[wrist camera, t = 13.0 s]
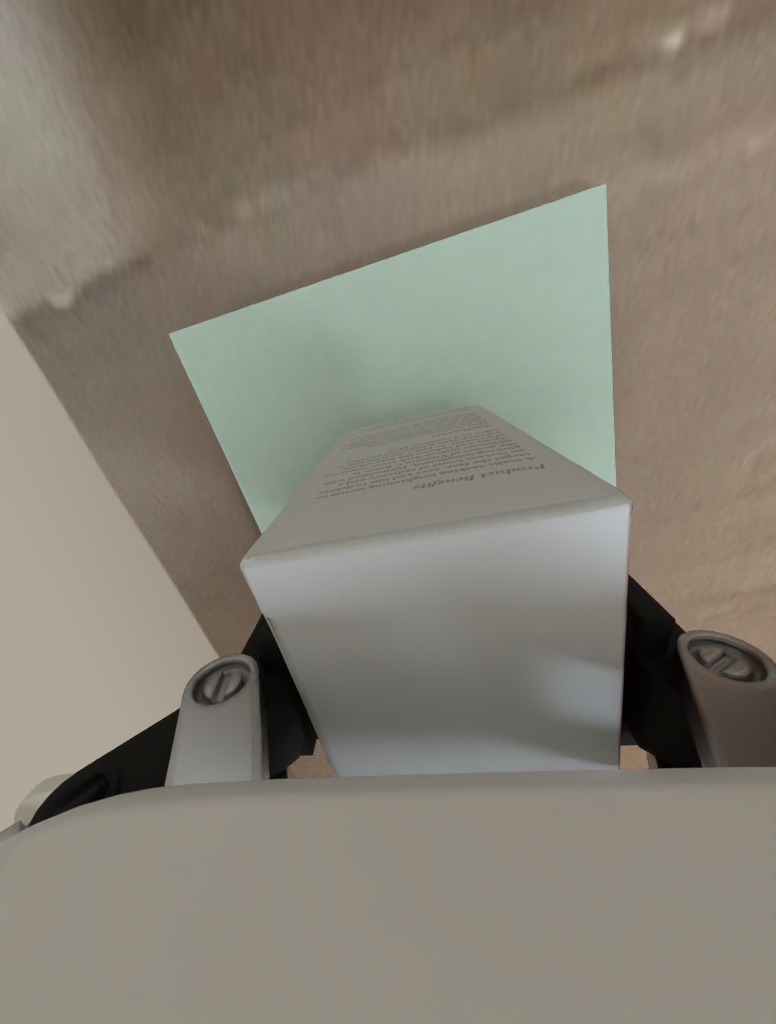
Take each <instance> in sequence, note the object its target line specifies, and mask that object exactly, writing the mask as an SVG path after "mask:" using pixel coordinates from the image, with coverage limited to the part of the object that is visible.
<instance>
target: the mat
mask: <svg viewBox="0 0 776 1024" xmlns="http://www.w3.org/2000/svg"><path fill="white" fill-rule="evenodd" d="M169 336H170V338H171V340H172V343H173V345H174V347H175V349H176V351H177V353H178V355H179V358H180V360H181V362H182V364H183V366H184V368H185V370H186V373H187V375H188V377H189V379H190V381H191V383H192V386H193V388H194V390H195V392H196V394H197V396H198V398H199V401H200V403H201V405H202V407H203V409H204V411H205V413H206V416H207V418H208V420H209V422H210V424H211V426H212V428H213V431H214V433H215V435H216V437H217V439H218V441H219V443H220V446H221V448H222V450H223V452H224V454H225V456H226V458H227V461H228V463H229V465H230V467H231V469H232V471H233V473H234V476H235V478H236V480H237V482H238V484H239V486H240V489H241V491H242V493H243V495H244V497H245V499H246V501H247V504H248V506H249V508H250V510H251V512H252V514H253V516H254V519H255V521H256V523H257V525H258V527H259V529H260V531H261V534H263V533H264V532H265V530H266V529H267V527H268V526H269V525H270V524H271V523H272V521H273V520H274V519H275V518H276V517H277V515H278V514H279V513H280V512H281V510H282V509H283V507H284V506H285V505H286V504H287V503H288V502H289V500H290V499H291V498H292V497H293V495H294V494H295V493H296V491H297V490H298V489H299V488H300V487H301V485H302V484H303V483H304V481H305V480H306V479H307V478H308V477H309V476H310V474H311V473H312V472H313V470H314V469H315V468H316V467H317V466H318V464H319V463H320V462H321V461H322V460H323V458H324V457H325V456H326V455H327V453H328V452H329V451H330V450H331V449H332V447H333V446H334V445H335V444H336V443H337V441H338V440H339V439H340V437H341V436H342V435H343V434H344V432H345V431H348V430H353V429H358V428H362V427H366V426H370V425H375V424H380V423H385V422H389V421H394V420H399V419H404V418H409V417H413V416H418V415H423V414H427V413H432V412H437V411H442V410H447V409H452V408H457V407H462V406H468V405H473V404H478V405H480V406H481V407H483V408H485V409H486V410H488V411H490V412H491V413H493V414H495V415H496V416H498V417H500V418H501V419H503V420H505V421H506V422H508V423H509V424H511V425H513V426H515V427H516V428H518V429H519V430H521V431H523V432H525V433H526V434H528V435H530V436H531V437H533V438H534V439H536V440H538V441H539V442H541V443H543V444H544V445H546V446H547V447H549V448H551V449H552V450H554V451H556V452H557V453H559V454H561V455H562V456H564V457H565V458H567V459H569V460H571V461H572V462H574V463H576V464H578V465H579V466H581V467H583V468H584V469H586V470H588V471H589V472H591V473H593V474H594V475H596V476H597V477H599V478H601V479H602V480H604V481H606V482H608V483H609V484H611V485H613V486H614V487H616V470H615V440H614V410H613V380H612V350H611V320H610V290H609V260H608V230H607V200H606V184H602V185H599V186H596V187H593V188H590V189H587V190H584V191H581V192H579V193H576V194H573V195H570V196H567V197H564V198H561V199H558V200H555V201H552V202H549V203H547V204H544V205H541V206H538V207H535V208H532V209H529V210H526V211H523V212H520V213H518V214H515V215H512V216H509V217H506V218H503V219H500V220H497V221H494V222H491V223H488V224H486V225H483V226H480V227H477V228H474V229H471V230H468V231H465V232H462V233H459V234H457V235H454V236H451V237H448V238H445V239H442V240H439V241H436V242H433V243H430V244H427V245H425V246H422V247H419V248H416V249H413V250H410V251H407V252H404V253H401V254H398V255H396V256H393V257H390V258H387V259H384V260H381V261H378V262H375V263H372V264H369V265H366V266H364V267H361V268H358V269H355V270H352V271H349V272H346V273H343V274H340V275H337V276H335V277H332V278H329V279H326V280H323V281H320V282H317V283H314V284H311V285H308V286H305V287H303V288H300V289H297V290H294V291H291V292H288V293H285V294H282V295H279V296H276V297H274V298H271V299H268V300H265V301H262V302H259V303H256V304H253V305H250V306H247V307H244V308H242V309H239V310H236V311H233V312H230V313H227V314H224V315H221V316H218V317H215V318H212V319H210V320H207V321H204V322H201V323H198V324H195V325H192V326H189V327H186V328H183V329H181V330H178V331H175V332H172V333H169Z"/></svg>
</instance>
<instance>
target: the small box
mask: <svg viewBox="0 0 776 1024" xmlns="http://www.w3.org/2000/svg"><path fill="white" fill-rule="evenodd" d="M632 509H633V501H632V500H631V499H630V498H629V497H628V496H627V495H626V494H625V493H623V492H622V491H620V490H619V489H618V488H616V487H614V486H613V485H611V484H609V483H608V482H606V481H604V480H602V479H601V478H599V477H597V476H596V475H594V474H593V473H591V472H589V471H588V470H586V469H584V468H583V467H581V466H579V465H578V464H576V463H574V462H572V461H571V460H569V459H567V458H565V457H564V456H562V455H561V454H559V453H557V452H556V451H554V450H552V449H551V448H549V447H547V446H546V445H544V444H543V443H541V442H539V441H538V440H536V439H534V438H533V437H531V436H530V435H528V434H526V433H525V432H523V431H521V430H519V429H518V428H516V427H515V426H513V425H511V424H509V423H508V422H506V421H505V420H503V419H501V418H500V417H498V416H496V415H495V414H493V413H491V412H490V411H488V410H486V409H485V408H483V407H481V406H480V405H478V404H473V405H468V406H462V407H457V408H452V409H447V410H442V411H437V412H432V413H427V414H423V415H418V416H413V417H409V418H404V419H399V420H394V421H389V422H385V423H380V424H375V425H370V426H366V427H362V428H358V429H353V430H348V431H345V432H344V434H343V435H342V436H341V437H340V439H339V440H338V441H337V443H336V444H335V445H334V446H333V447H332V449H331V450H330V451H329V452H328V453H327V455H326V456H325V457H324V458H323V460H322V461H321V462H320V463H319V464H318V466H317V467H316V468H315V469H314V470H313V472H312V473H311V474H310V476H309V477H308V478H307V479H306V480H305V481H304V483H303V484H302V485H301V487H300V488H299V489H298V490H297V491H296V493H295V494H294V495H293V497H292V498H291V499H290V500H289V502H288V503H287V504H286V505H285V506H284V507H283V509H282V510H281V512H280V513H279V514H278V515H277V517H276V518H275V519H274V520H273V521H272V523H271V524H270V525H269V526H268V527H267V529H266V530H265V532H264V533H263V534H262V535H261V536H260V537H259V539H258V540H257V541H256V542H255V543H254V545H253V546H252V547H251V548H250V550H249V551H248V552H247V553H246V555H245V556H244V557H243V558H242V561H241V564H240V568H241V571H242V573H243V575H244V577H245V580H246V582H247V583H248V585H249V587H250V589H251V591H252V593H253V595H254V597H255V599H256V601H257V604H258V606H259V608H260V610H261V612H262V613H263V615H264V617H265V619H266V621H267V623H268V625H269V627H270V629H271V631H272V633H273V635H274V637H275V639H276V642H277V644H278V646H279V648H280V651H281V653H282V655H283V657H284V660H285V662H286V664H287V666H288V669H289V671H290V673H291V676H292V678H293V680H294V683H295V685H296V687H297V689H298V691H299V693H300V696H301V698H302V701H303V703H304V705H305V707H306V709H307V712H308V715H309V717H310V720H311V722H312V724H313V726H314V729H315V731H316V733H317V736H318V738H319V740H320V743H321V745H322V747H323V749H324V752H325V754H326V757H327V759H328V762H329V764H330V766H331V769H332V771H333V773H334V776H335V777H359V776H389V775H421V774H457V773H493V772H532V771H571V770H616V769H619V767H620V743H621V719H622V700H623V675H624V654H625V633H626V615H627V614H626V605H627V590H628V574H629V555H630V529H631V516H632Z"/></svg>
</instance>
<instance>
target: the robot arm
mask: <svg viewBox="0 0 776 1024" xmlns="http://www.w3.org/2000/svg"><path fill="white" fill-rule="evenodd" d="M626 614H627V615H626V633H625V654H624V675H623V700H622V719H621V743H620V746H623V745H638V746H639V747H640V748H642V749H643V750H645V751H647V760H648V765H649V769H616V770H571V771H532V772H493V773H457V774H421V775H389V776H359V777H328V778H297V779H291V770H290V765H291V764H292V763H293V762H294V761H295V760H297V759H298V758H299V756H302V755H313V752H314V748H315V743H316V739H319V738H318V736H317V733H316V731H315V729H314V726H313V724H312V722H311V720H310V717H309V715H308V712H307V709H306V707H305V705H304V703H303V701H302V698H301V696H300V693H299V691H298V689H297V687H296V685H295V683H294V680H293V678H292V676H291V673H290V671H289V669H288V666H287V664H286V662H285V660H284V657H283V655H282V653H281V651H280V648H279V646H278V644H277V642H276V639H275V637H274V635H273V633H272V631H271V629H270V627H269V625H268V623H267V621H266V619H265V617H264V615H263V614H262V616H261V617H260V619H259V621H258V623H257V625H256V627H255V629H254V631H253V632H252V634H251V636H250V638H249V640H248V642H247V644H246V646H245V647H244V649H243V651H242V653H241V654H232V655H228V656H223V657H221V658H218V659H216V660H214V661H212V662H210V663H209V664H207V665H205V666H204V667H202V668H201V669H200V670H199V671H198V672H197V673H196V674H194V676H193V677H192V678H191V680H190V681H189V682H188V683H187V686H186V688H185V690H184V693H183V697H182V703H181V707H180V709H178V710H176V711H175V712H173V713H171V714H170V715H168V716H167V717H165V718H163V719H162V720H160V721H158V722H157V723H155V724H154V725H152V726H150V727H149V728H147V729H146V730H144V731H142V732H141V733H139V734H137V735H136V736H134V737H133V738H131V739H130V740H128V741H126V742H125V743H123V744H121V745H120V746H118V747H116V748H115V749H113V750H112V751H110V752H108V753H107V754H105V755H104V756H102V757H101V758H99V759H97V760H95V761H94V762H92V763H91V764H89V765H87V766H86V767H84V768H83V769H81V770H80V771H78V772H77V773H75V774H74V775H72V776H71V777H69V778H68V779H67V780H65V781H64V782H63V783H62V784H60V785H59V786H58V787H57V788H56V789H55V790H54V791H53V792H52V793H51V794H50V795H49V796H48V797H47V798H46V800H45V801H44V802H43V803H42V805H41V806H40V807H39V808H38V810H37V811H36V813H35V814H34V816H33V818H32V820H31V822H30V823H28V824H27V825H24V824H23V823H22V822H21V821H20V820H19V821H18V822H16V823H14V824H13V825H11V826H10V827H8V828H7V829H5V830H3V831H2V832H0V1024H776V664H775V663H774V662H773V660H772V659H771V658H770V657H769V656H767V655H766V654H765V653H763V652H762V651H760V650H759V649H758V648H756V647H754V646H752V645H750V644H749V643H747V642H745V641H743V640H740V639H738V638H735V637H732V636H730V635H727V634H722V633H718V632H714V631H705V630H695V631H688V632H685V631H684V630H683V629H682V628H681V627H680V626H679V625H678V624H677V623H676V622H675V619H674V618H673V617H672V616H671V615H670V614H669V613H668V612H667V611H666V610H665V609H664V608H663V607H662V606H661V605H660V604H659V603H658V602H657V601H656V600H655V599H654V598H653V597H652V596H651V595H649V594H648V593H647V592H646V591H645V590H644V589H643V588H642V587H641V586H640V585H639V584H638V583H637V582H636V581H635V580H634V579H633V578H632V577H631V576H630V575H629V574H628V590H627V605H626Z"/></svg>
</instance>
